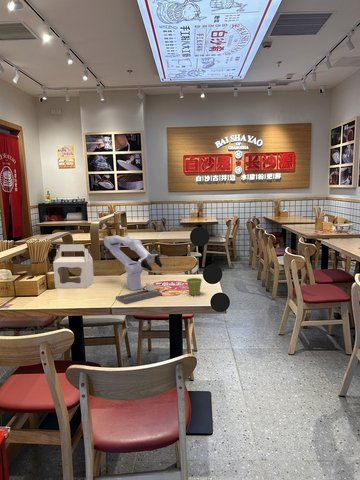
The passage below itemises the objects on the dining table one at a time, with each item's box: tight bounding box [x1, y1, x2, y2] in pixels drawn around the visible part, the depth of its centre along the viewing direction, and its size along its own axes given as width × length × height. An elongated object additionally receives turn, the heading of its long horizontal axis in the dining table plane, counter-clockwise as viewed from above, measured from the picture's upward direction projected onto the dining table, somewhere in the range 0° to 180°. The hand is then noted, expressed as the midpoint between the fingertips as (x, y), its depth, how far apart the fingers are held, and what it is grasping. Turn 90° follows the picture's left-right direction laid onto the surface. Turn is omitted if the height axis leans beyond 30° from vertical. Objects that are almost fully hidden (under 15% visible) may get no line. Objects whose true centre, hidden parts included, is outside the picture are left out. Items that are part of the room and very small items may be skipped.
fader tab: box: [145, 281, 156, 292], centre depth 201 cm, size 4×3×5 cm
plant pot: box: [185, 277, 203, 296], centre depth 200 cm, size 9×9×9 cm
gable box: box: [52, 243, 95, 289], centre depth 225 cm, size 22×13×28 cm, turn 85°
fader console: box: [115, 289, 163, 305], centre depth 197 cm, size 12×24×2 cm, turn 127°
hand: (156, 268), depth 199 cm, fingers open, 7 cm apart
